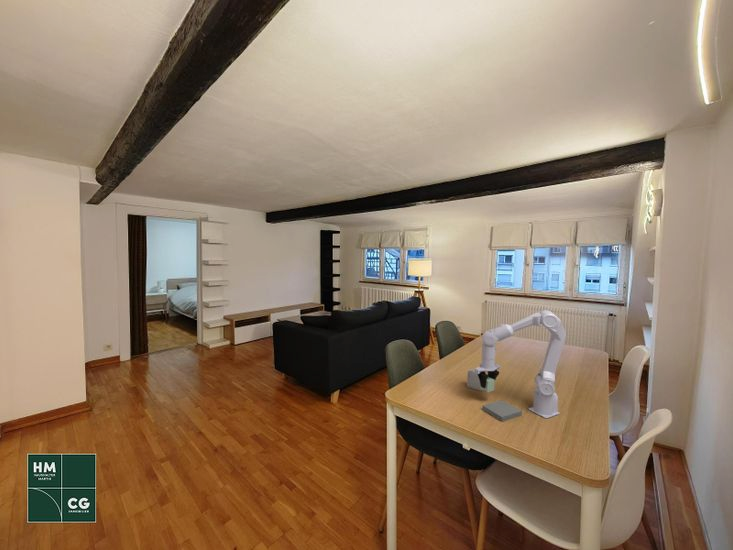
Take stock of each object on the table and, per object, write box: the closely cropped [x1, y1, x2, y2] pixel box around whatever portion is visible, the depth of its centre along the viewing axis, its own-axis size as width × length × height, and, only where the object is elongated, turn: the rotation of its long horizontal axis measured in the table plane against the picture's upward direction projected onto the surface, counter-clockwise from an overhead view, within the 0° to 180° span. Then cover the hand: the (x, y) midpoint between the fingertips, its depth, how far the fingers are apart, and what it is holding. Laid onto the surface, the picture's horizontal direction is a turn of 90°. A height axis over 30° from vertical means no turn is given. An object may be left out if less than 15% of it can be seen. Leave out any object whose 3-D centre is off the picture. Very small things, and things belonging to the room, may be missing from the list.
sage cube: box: [480, 377, 496, 393], centre depth 132 cm, size 4×4×5 cm
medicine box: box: [466, 368, 484, 392], centre depth 146 cm, size 8×4×9 cm, turn 59°
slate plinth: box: [481, 400, 523, 422], centre depth 123 cm, size 12×10×2 cm
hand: (487, 386), depth 132 cm, fingers closed on sage cube, 4 cm apart
